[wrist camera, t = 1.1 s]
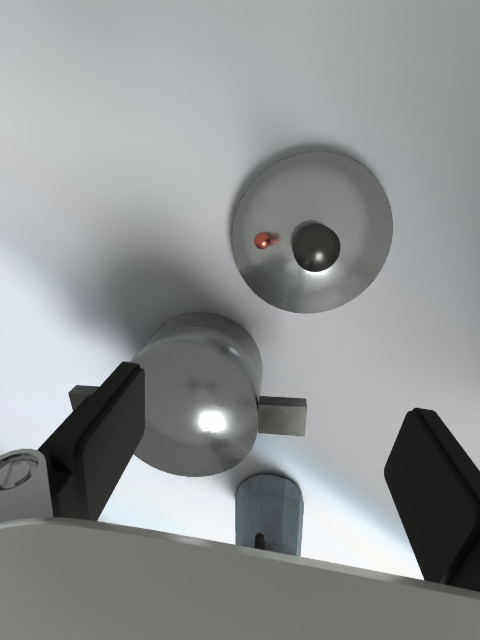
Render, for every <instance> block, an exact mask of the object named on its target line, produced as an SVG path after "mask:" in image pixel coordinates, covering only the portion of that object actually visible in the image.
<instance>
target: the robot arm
mask: <svg viewBox="0 0 480 640" xmlns="http://www.w3.org/2000/svg"><path fill="white" fill-rule="evenodd" d="M144 430H145V370H144V369H143V368H141V367H140V364H137V363H131V362H125V361H124V362H122V363H121V364H120V365H119V366H118V367H117V368H116V369H115V370H114V372H113V373H112V374H111V375H110V376H109V377H108V378H107V379H106V380H105V381H104V383H103V384H102V385H101V386H100V387H99V388H98V389H97V390H96V391H95V393H94V394H90V395H88V396H87V397H86V398H85V399H84V400H83V401H82V402H81V403H80V404H79V406H78V407H77V408H76V409H75V410H74V411H73V412H72V413H71V414H70V415H69V416H68V417H67V419H66V420H65V421H64V422H63V423H62V424H61V425H60V426H59V427H58V428H57V429H56V430H55V431H54V433H53V434H52V435H51V436H50V437H49V438H48V439H47V440H46V441H45V442H44V443H43V444H42V446H41V447H40V448H39V449H38V450H34V449H19V450H14V451H10V452H8V453H5V454H3V455H1V456H0V640H480V471H479V470H478V468H477V467H476V466H475V464H474V463H473V462H472V460H471V459H470V458H469V456H468V455H467V453H466V452H465V451H464V449H463V448H462V447H461V445H460V444H459V443H458V441H457V440H456V439H455V437H454V436H453V435H452V433H451V432H450V431H449V429H448V428H447V427H446V425H445V424H444V423H443V421H442V420H441V418H440V417H439V416H438V414H437V413H436V412H435V411H433V410H427V409H421V408H414V409H413V410H412V411H409V412H407V414H406V416H405V419H404V421H403V424H402V426H401V429H400V431H399V433H398V436H397V438H396V441H395V443H394V446H393V448H392V451H391V453H390V455H389V458H388V460H387V463H386V465H385V468H384V477H385V480H386V483H387V485H388V488H389V490H390V493H391V495H392V498H393V500H394V503H395V506H396V508H397V511H398V513H399V516H400V518H401V521H402V524H403V526H404V529H405V531H406V534H407V536H408V539H409V541H410V544H411V547H412V549H413V552H414V554H415V557H416V559H417V562H418V564H419V567H420V570H421V572H422V575H423V577H424V580H419V579H414V578H409V577H404V576H398V575H393V574H388V573H383V572H378V571H372V570H367V569H362V568H357V567H351V566H346V565H341V564H336V563H330V562H325V561H320V560H314V559H309V558H303V557H298V556H293V555H287V554H282V553H276V552H271V551H266V550H260V549H255V548H249V547H244V546H238V545H233V544H227V543H222V542H216V541H211V540H205V539H200V538H194V537H188V536H183V535H177V534H172V533H166V532H160V531H155V530H149V529H143V528H137V527H131V526H124V525H118V524H112V523H106V522H99V521H97V520H98V518H99V516H100V514H101V513H102V511H103V509H104V507H105V505H106V503H107V501H108V500H109V498H110V496H111V494H112V492H113V490H114V489H115V487H116V485H117V483H118V481H119V479H120V477H121V476H122V474H123V472H124V470H125V468H126V466H127V465H128V463H129V461H130V459H131V457H132V455H133V453H134V452H135V450H136V448H137V446H138V444H139V442H140V441H141V439H142V437H143V434H144Z"/></svg>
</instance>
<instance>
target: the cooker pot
mask: <svg viewBox="0 0 480 640" xmlns="http://www.w3.org/2000/svg"><path fill="white" fill-rule="evenodd" d="M130 362H131V363H137V364H140V367H141V368H143V369H144V370H145V430H144V434H143V437H142V439H141V441H140V442H139V444H138V446H137V448H136V450H135V452H134V453H133V454H134V455H135V456H136V457H138V458H139V459H141V460H142V461H143V462H145V463H147V464H149V465H150V466H152V467H154V468H157V469H159V470H161V471H164V472H167V473H170V474H175V475H180V476H187V477H202V476H210V475H214V474H218V473H221V472H224V471H226V470H228V469H230V468H232V467H234V466H235V465H237V464H238V463H239V462H240V461H242V460H243V459H244V458H245V456H246V455H247V454H248V453H249V451H250V450H251V448H252V446H253V444H254V442H255V439H256V435H257V428H258V433H266V434H280V435H294V436H305V426H306V414H307V403H306V399H302V398H285V397H268V396H260V392H261V380H262V360H261V355H260V353H259V350H258V348H257V346H256V344H255V342H254V341H253V339H252V338H251V336H250V335H249V334H248V333H247V332H246V331H245V330H244V329H243V328H242V327H240V326H239V325H238V324H236V323H235V322H233V321H231V320H229V319H227V318H225V317H223V316H220V315H217V314H212V313H205V312H192V313H186V314H183V315H179V316H177V317H175V318H172V319H171V320H169V321H168V322H166V323H165V324H164V325H163V326H161V327H160V328H159V330H158V331H157V332H156V333H155V334H154V335H153V336H152V337H151V339H150V340H149V341H148V342H147V343H146V344H145V345H144V346H143V348H142V349H141V350H140V351H139V352H138V353H137V354H136V356H135V357H134V358H133V359H132V360H131V361H130ZM98 388H99V387H97V386H80V385H76V386H75V387H74V388H73V389H72V390H71V391H70V392H69V397H70V401H71V405H72V409H73V411H74V410H75V409H76V408H77V407H78V406H79V404H80V403H81V402H82V401H83V400H84V399H85V398H86V397H87V396H88V395H90V394H94V393H95V391H96V390H97V389H98Z"/></svg>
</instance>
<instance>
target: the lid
mask: <svg viewBox="0 0 480 640" xmlns="http://www.w3.org/2000/svg"><path fill="white" fill-rule="evenodd" d="M392 233H393V219H392V213H391V207H390V204H389V201H388V198H387V196H386V194H385V192H384V190H383V188H382V186H381V185H380V183H379V182H378V180H377V179H376V178H375V177H374V176H373V175H372V173H371V172H370V171H369V170H367V169H366V168H365V167H364V166H362V165H361V164H360V163H358V162H356V161H354V160H352V159H351V158H348V157H346V156H343V155H340V154H336V153H331V152H321V151H314V152H304V153H300V154H296V155H292V156H290V157H287V158H285V159H282V160H281V161H279V162H277V163H275V164H273V165H272V166H270V167H269V168H268V169H266V170H265V171H264V172H263V173H262V174H261V175H259V176H258V177H257V178H256V179H255V180H254V182H253V183H252V184H251V185H250V187H249V188H248V189H247V191H246V193H245V194H244V196H243V197H242V199H241V202H240V204H239V206H238V208H237V211H236V215H235V218H234V223H233V229H232V246H233V253H234V258H235V261H236V264H237V267H238V270H239V272H240V274H241V276H242V277H243V279H244V280H245V282H246V283H247V285H248V286H249V287H250V288H251V289H252V291H253V292H254V293H255V294H257V295H258V296H259V297H260V298H261V299H263V300H264V301H266V302H267V303H269V304H271V305H273V306H275V307H277V308H280V309H282V310H285V311H290V312H294V313H318V312H324V311H328V310H332V309H335V308H337V307H339V306H342V305H344V304H346V303H348V302H349V301H351V300H353V299H354V298H355V297H357V296H358V295H360V294H361V293H362V292H363V291H364V290H365V289H366V288H367V287H368V286H369V285H370V284H371V283H372V282H373V281H374V279H375V278H376V276H377V275H378V274H379V272H380V271H381V269H382V267H383V265H384V263H385V261H386V258H387V256H388V253H389V250H390V246H391V241H392Z"/></svg>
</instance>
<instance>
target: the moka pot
mask: <svg viewBox="0 0 480 640" xmlns="http://www.w3.org/2000/svg"><path fill="white" fill-rule="evenodd" d="M235 505H236V506H235V532H236V545H238V546H244V547H249V548H255V549H260V550H266V551H271V552H276V553H282V554H287V555H293V556H298V557H300V556H301V541H302V526H303V511H304V503H303V497H302V493H301V491H300V490H299V488H298V487H297V486H296V485H295V484H294V483H292V482H291V481H289V480H287V479H285V478H282V477H279V476H274V475H267V474H261V475H256V476H253V477H250V478H248V479H247V480H245V481H243V482H242V483H241V485H240V486H239V487H238V489H237V491H236V493H235Z"/></svg>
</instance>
